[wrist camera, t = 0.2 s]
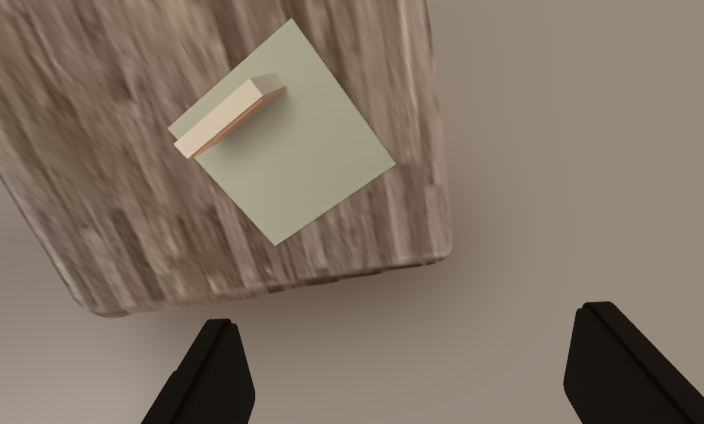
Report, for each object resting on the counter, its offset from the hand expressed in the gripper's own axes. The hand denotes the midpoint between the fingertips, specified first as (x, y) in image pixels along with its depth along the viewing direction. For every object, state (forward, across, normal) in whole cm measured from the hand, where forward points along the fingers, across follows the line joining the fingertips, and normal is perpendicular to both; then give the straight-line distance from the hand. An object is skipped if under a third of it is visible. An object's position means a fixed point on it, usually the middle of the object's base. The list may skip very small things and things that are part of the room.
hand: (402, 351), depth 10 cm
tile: (+36, +15, -3) cm, 39 cm away
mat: (+37, +12, +2) cm, 39 cm away
